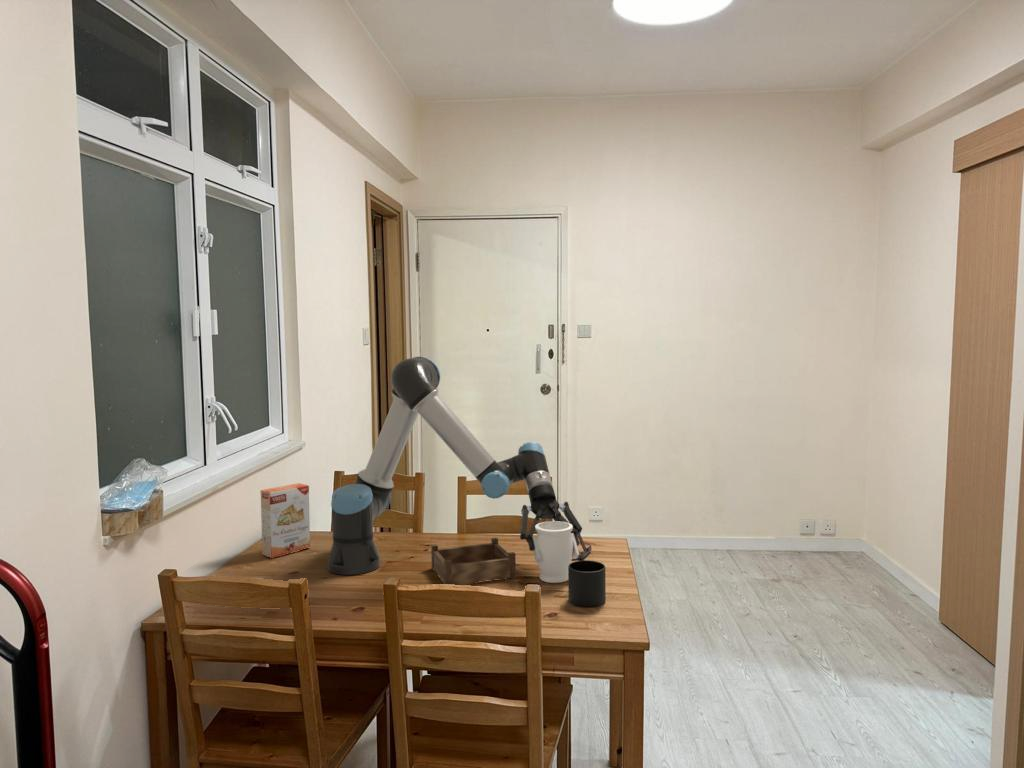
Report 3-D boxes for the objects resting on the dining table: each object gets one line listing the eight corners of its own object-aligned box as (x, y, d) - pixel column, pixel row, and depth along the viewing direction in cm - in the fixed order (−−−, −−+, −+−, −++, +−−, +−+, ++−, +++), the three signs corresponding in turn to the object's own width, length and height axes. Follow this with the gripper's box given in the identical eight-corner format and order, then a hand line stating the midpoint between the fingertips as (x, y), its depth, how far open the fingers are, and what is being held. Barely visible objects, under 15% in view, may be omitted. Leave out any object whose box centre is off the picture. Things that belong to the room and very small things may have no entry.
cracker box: (272, 560, 222) (269, 492, 220) (261, 556, 226) (259, 489, 224) (311, 548, 232) (309, 484, 231) (301, 545, 236) (298, 482, 235)
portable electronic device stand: (582, 560, 217) (582, 533, 217) (558, 557, 220) (557, 530, 220) (591, 552, 225) (591, 525, 225) (567, 549, 228) (567, 523, 228)
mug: (607, 591, 192) (607, 558, 191) (604, 608, 180) (604, 573, 179) (571, 589, 194) (571, 556, 193) (566, 606, 182) (566, 571, 181)
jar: (561, 587, 195) (561, 532, 194) (528, 581, 200) (528, 527, 199) (579, 575, 204) (579, 523, 203) (547, 569, 209) (547, 518, 208)
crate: (446, 587, 196) (445, 562, 196) (431, 568, 212) (431, 545, 211) (515, 578, 203) (515, 553, 202) (496, 560, 219) (496, 537, 218)
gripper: (504, 485, 207) (519, 555, 193) (580, 480, 213) (600, 548, 199) (500, 499, 213) (514, 568, 199) (574, 494, 218) (593, 560, 204)
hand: (557, 558), depth 199 cm, fingers closed on jar, 10 cm apart
